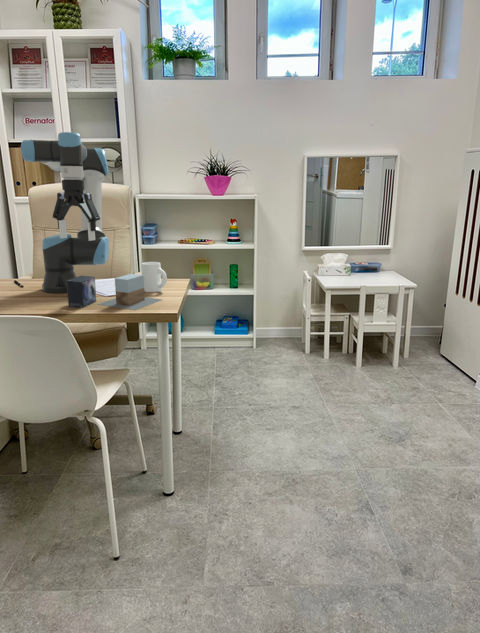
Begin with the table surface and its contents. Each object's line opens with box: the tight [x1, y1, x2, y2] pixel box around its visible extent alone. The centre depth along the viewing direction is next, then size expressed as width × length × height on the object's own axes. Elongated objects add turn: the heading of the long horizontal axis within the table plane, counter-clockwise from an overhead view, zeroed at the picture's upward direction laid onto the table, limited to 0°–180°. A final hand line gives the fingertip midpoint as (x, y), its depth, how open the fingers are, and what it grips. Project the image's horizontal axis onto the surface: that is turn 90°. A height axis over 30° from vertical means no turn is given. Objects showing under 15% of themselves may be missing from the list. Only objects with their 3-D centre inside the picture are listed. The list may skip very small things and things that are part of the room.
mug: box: [141, 261, 168, 293], centre depth 205 cm, size 8×12×12 cm
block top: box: [114, 273, 144, 293], centre depth 185 cm, size 6×10×5 cm, turn 155°
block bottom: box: [115, 288, 146, 306], centre depth 186 cm, size 6×10×5 cm, turn 155°
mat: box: [97, 296, 164, 311], centre depth 187 cm, size 18×18×1 cm
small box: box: [67, 275, 97, 309], centre depth 182 cm, size 11×6×10 cm, turn 168°
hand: (77, 239), depth 176 cm, fingers open, 13 cm apart
